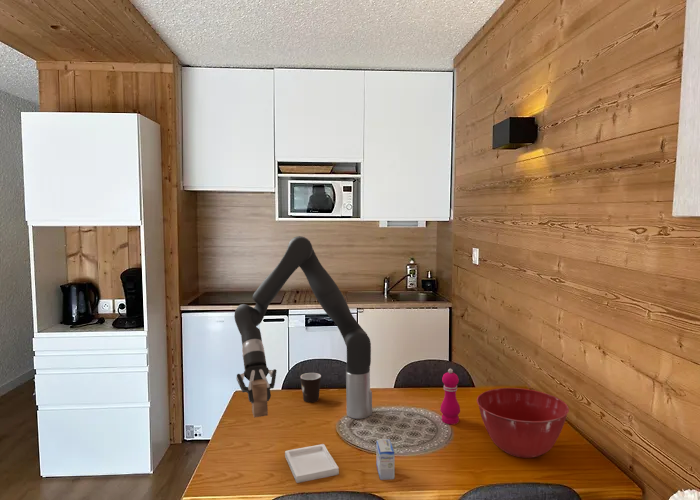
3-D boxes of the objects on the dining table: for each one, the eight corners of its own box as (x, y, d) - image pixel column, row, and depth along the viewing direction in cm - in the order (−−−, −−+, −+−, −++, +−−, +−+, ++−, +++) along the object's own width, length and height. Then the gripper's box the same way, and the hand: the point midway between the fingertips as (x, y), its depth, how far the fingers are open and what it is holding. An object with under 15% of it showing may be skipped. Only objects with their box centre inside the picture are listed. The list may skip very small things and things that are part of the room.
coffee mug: (320, 403, 198) (320, 379, 197) (299, 403, 198) (299, 379, 197) (322, 392, 209) (322, 370, 208) (302, 392, 209) (302, 370, 209)
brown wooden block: (265, 410, 163) (264, 378, 162) (267, 415, 159) (266, 383, 158) (252, 412, 162) (251, 380, 161) (254, 417, 158) (252, 385, 157)
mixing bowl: (459, 437, 167) (459, 394, 166) (524, 422, 177) (525, 382, 176) (515, 478, 141) (516, 428, 139) (588, 459, 151) (589, 411, 150)
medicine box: (376, 466, 149) (375, 439, 148) (390, 465, 149) (390, 438, 148) (379, 480, 141) (379, 452, 140) (394, 479, 141) (394, 451, 141)
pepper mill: (460, 425, 176) (460, 372, 174) (440, 424, 177) (440, 371, 175) (459, 417, 183) (460, 366, 181) (440, 416, 184) (440, 365, 182)
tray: (323, 449, 159) (323, 443, 159) (338, 474, 144) (338, 468, 144) (285, 456, 155) (285, 450, 155) (296, 483, 140) (296, 476, 140)
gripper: (233, 352, 163) (238, 399, 153) (275, 347, 168) (283, 393, 158) (232, 362, 169) (237, 409, 159) (273, 358, 174) (280, 402, 163)
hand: (260, 401), depth 158 cm, fingers closed on brown wooden block, 4 cm apart
